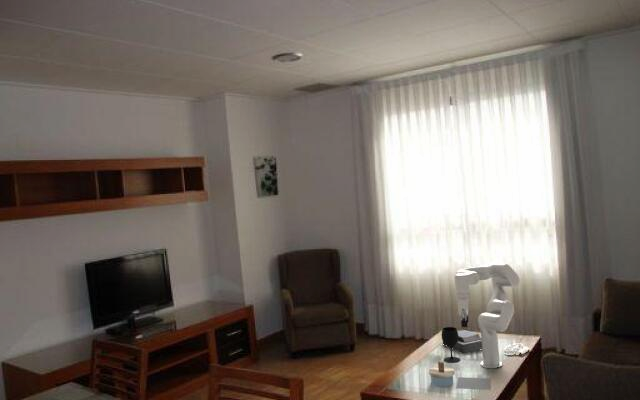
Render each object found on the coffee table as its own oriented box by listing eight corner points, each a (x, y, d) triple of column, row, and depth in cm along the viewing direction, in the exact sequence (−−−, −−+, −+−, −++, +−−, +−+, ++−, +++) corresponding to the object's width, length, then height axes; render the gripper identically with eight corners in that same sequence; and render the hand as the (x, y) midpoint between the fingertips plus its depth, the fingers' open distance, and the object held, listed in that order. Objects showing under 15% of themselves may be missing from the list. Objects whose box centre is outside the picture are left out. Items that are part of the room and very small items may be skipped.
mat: (458, 378, 303) (458, 377, 303) (491, 379, 297) (490, 378, 297) (456, 389, 288) (455, 388, 288) (490, 390, 282) (490, 389, 282)
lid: (430, 368, 306) (429, 357, 306) (455, 369, 301) (454, 358, 301) (427, 377, 293) (426, 366, 292) (453, 378, 288) (452, 367, 288)
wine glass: (442, 362, 330) (440, 331, 329) (444, 357, 340) (441, 326, 339) (460, 363, 327) (457, 331, 326) (460, 357, 337) (458, 326, 336)
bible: (456, 355, 342) (455, 340, 342) (440, 343, 369) (439, 329, 368) (489, 350, 346) (488, 335, 346) (471, 339, 373) (470, 325, 372)
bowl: (432, 379, 305) (432, 369, 304) (454, 380, 301) (453, 369, 301) (430, 387, 293) (429, 376, 293) (452, 388, 289) (451, 377, 289)
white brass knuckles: (519, 358, 327) (498, 354, 338) (533, 350, 338) (512, 346, 349) (519, 353, 327) (497, 349, 338) (533, 345, 338) (512, 341, 349)
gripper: (457, 292, 312) (459, 320, 312) (454, 298, 295) (457, 329, 296) (470, 291, 309) (472, 320, 310) (468, 298, 293) (471, 329, 294)
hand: (465, 324), depth 303 cm, fingers open, 9 cm apart
